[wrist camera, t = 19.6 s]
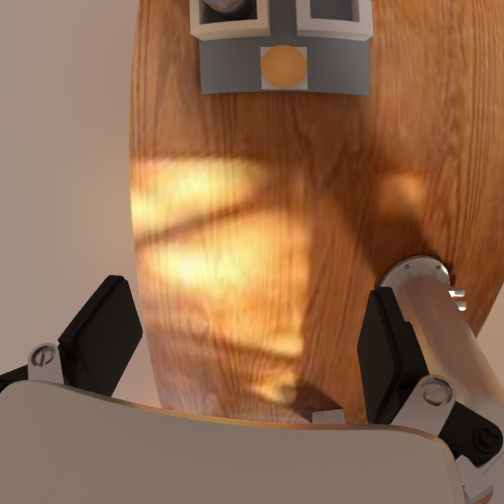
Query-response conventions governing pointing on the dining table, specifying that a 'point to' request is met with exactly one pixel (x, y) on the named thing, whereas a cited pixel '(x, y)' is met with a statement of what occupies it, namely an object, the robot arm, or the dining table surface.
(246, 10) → the grey rounded cylinder
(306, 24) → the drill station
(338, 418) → the supplement box
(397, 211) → the dining table surface
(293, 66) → the button
